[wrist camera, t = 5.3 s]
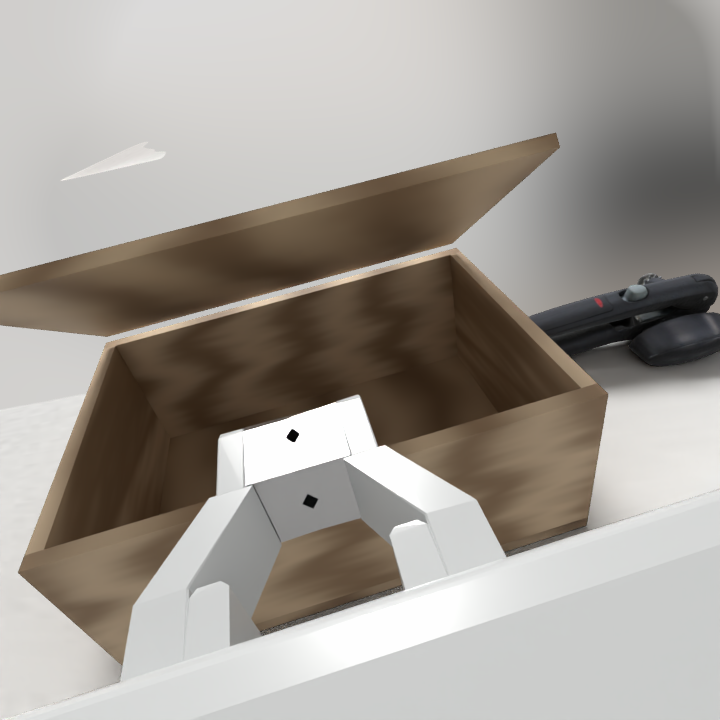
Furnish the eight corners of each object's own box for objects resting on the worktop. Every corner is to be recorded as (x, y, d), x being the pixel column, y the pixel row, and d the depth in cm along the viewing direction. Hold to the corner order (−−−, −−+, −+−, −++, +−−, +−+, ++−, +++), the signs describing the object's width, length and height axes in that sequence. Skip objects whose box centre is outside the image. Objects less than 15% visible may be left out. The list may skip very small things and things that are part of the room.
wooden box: (130, 673, 26) (17, 572, 20) (165, 441, 40) (106, 342, 34) (586, 525, 27) (608, 393, 22) (463, 355, 42) (456, 247, 36)
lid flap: (-90, 315, 17) (-95, 299, 17) (107, 336, 33) (104, 328, 33) (559, 147, 19) (556, 132, 19) (452, 243, 35) (450, 235, 35)
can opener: (687, 312, 41) (703, 252, 38) (740, 361, 36) (763, 295, 32) (478, 344, 43) (475, 289, 40) (496, 396, 37) (495, 336, 34)
